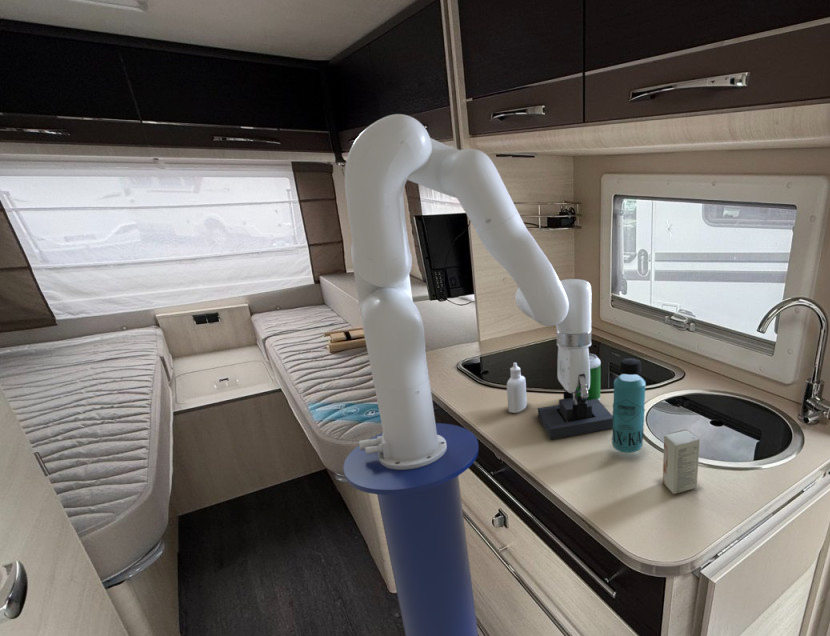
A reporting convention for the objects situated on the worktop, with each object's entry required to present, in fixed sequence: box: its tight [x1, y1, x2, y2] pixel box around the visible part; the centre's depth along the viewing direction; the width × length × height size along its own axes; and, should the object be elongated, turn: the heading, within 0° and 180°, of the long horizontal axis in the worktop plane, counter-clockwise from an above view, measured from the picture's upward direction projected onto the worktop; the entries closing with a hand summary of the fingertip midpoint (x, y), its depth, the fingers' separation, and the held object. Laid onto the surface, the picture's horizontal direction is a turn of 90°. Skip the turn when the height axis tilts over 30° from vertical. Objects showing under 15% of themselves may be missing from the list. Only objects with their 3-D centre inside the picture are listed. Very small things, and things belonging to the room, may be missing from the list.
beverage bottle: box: [611, 357, 647, 454], centre depth 93 cm, size 6×7×20 cm
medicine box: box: [662, 428, 701, 495], centre depth 84 cm, size 5×4×10 cm
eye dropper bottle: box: [506, 362, 528, 414], centre depth 113 cm, size 4×6×12 cm
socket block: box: [537, 399, 613, 440], centre depth 108 cm, size 15×11×2 cm
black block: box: [558, 397, 592, 422], centre depth 107 cm, size 6×6×3 cm
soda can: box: [576, 353, 602, 401], centre depth 117 cm, size 8×8×12 cm
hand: (575, 412), depth 107 cm, fingers closed on black block, 6 cm apart
